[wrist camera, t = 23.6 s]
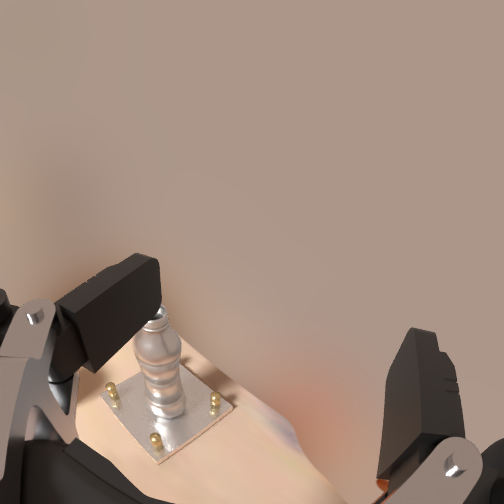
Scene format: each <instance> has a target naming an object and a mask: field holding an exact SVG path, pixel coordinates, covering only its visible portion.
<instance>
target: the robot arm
mask: <svg viewBox="0 0 504 504" xmlns="http://www.w3.org/2000/svg"><path fill="white" fill-rule="evenodd" d="M161 301H162V295H161V282H160V267H159V262H158V260H157V259H155V258H152V257H149V256H146V255H143V254H139V253H135V254H133V255H131V256H130V257H128V258H127V259H125V260H123V261H122V262H120V263H119V264H116V265H113V266H110V267H107V268H106V269H104V270H102V271H101V272H99V273H98V274H97V275H96V276H94V277H92V278H90V279H89V280H87V283H86V282H84V283H83V284H81V285H80V286H78V287H77V288H75V289H74V290H73V291H71V292H70V293H68V294H67V295H65V296H64V297H62V298H61V299H59V300H58V301H56V302H55V303H52V302H51V301H49V300H46V299H36V300H32V301H29V302H27V303H25V304H23V305H22V306H21V307H18V306H14V305H10V303H9V301H8V298H7V295H6V292H5V291H4V290H3V289H0V504H174V503H170V502H166V501H162V500H158V499H154V498H151V497H148V496H146V495H144V494H143V493H142V492H141V491H140V490H138V489H137V488H136V487H135V486H134V485H133V484H132V483H131V482H130V481H129V480H128V479H127V478H126V477H125V476H124V475H123V474H122V473H121V472H120V471H119V470H118V469H117V468H116V467H115V466H114V465H113V464H112V463H111V462H110V461H109V460H108V459H106V458H105V457H103V456H102V455H100V454H99V453H97V452H96V451H94V450H93V449H91V448H90V447H89V446H87V445H86V444H85V443H83V442H82V441H80V440H79V437H78V433H77V430H76V425H75V418H76V405H77V395H78V386H79V372H78V369H79V368H80V367H82V366H83V367H85V368H86V369H88V370H90V371H91V372H93V373H94V374H95V373H96V372H97V371H98V370H99V369H100V368H101V367H102V366H103V365H104V364H105V363H106V362H107V361H108V360H109V359H110V358H111V357H112V356H113V355H114V354H115V353H116V352H117V351H119V350H120V349H121V348H122V347H123V346H124V345H125V344H126V343H127V342H128V341H129V340H130V339H131V338H132V337H133V336H134V335H135V334H136V333H137V332H138V331H139V330H140V329H141V328H143V327H144V326H145V325H146V324H147V323H148V322H149V321H150V320H151V319H152V318H153V317H154V316H155V315H156V314H157V312H158V311H159V309H160V306H161ZM456 382H457V377H456V372H455V367H454V365H453V363H452V362H451V360H450V358H449V357H448V355H447V354H446V353H445V352H440V351H439V347H438V342H437V337H436V334H435V333H434V332H430V331H426V330H421V329H417V328H410V330H409V331H408V332H407V334H406V337H405V339H404V341H403V343H402V345H401V347H400V349H399V351H398V353H397V355H396V357H395V359H394V361H393V363H392V365H391V367H390V369H389V373H388V376H387V380H386V388H385V389H386V390H385V406H384V419H383V430H382V440H381V449H380V457H379V465H378V471H377V477H376V478H378V479H386V480H389V486H388V490H387V491H386V492H384V493H383V494H382V495H381V496H380V497H379V498H378V499H377V500H375V501H374V502H373V503H372V504H504V438H503V439H501V440H498V441H496V442H495V443H493V444H492V445H491V446H489V447H488V448H487V449H486V450H485V451H484V452H483V453H482V454H480V452H479V450H478V449H477V448H476V446H475V445H474V444H473V443H472V442H470V441H469V440H467V439H465V430H464V421H463V413H462V407H461V399H460V395H458V393H459V387H458V383H456Z"/></svg>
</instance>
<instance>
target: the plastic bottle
mask: <svg viewBox="0 0 504 504" xmlns="http://www.w3.org/2000/svg"><path fill="white" fill-rule="evenodd" d="M132 347H133V351H134V354H135V356H136V359H137V361H138V363H139V366H140V368H141V372H142V375H143V378H144V387H145V391H144V399H145V403H146V405H147V407H148V409H149V410H150V411H151V412H152V413H153V414H154V415H155V416H157V417H160V418H165V419H170V418H174V417H177V416H179V415H180V414H181V413H182V412H183V411H184V409H185V405H186V395H185V392H184V389H183V387H182V384H181V379H180V357H181V340H180V338H179V336H178V334H177V333H176V331H175V330H174V329H173V328H172V327H171V326H169V318H168V314H167V309H166V308H165V307H164V306H163V305H162V304H161V306H160V309H159V311H158V312H157V314H156V315H155V316H154V317H153V318H152V319H151V320H150V321H149V322H148V323H147V324H146V325H145V326H144V327H143V328H141V329H140V330H139V331H138V332H137V333H136V334H135V335H134V337H133V343H132Z"/></svg>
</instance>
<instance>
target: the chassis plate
mask: <svg viewBox="0 0 504 504" xmlns="http://www.w3.org/2000/svg"><path fill="white" fill-rule="evenodd" d="M180 379H181V384H182V387H183V389H184V392H185V395H186V405H185V409H184V411H183V412H182V413H181V414H180V415H179V416H177V417H174V418H170V419H165V418H160V417H157V416H155V415H154V414H153V413H152V412H151V411H150V410H149V409H148V407H147V405H146V403H145V399H144V391H145V387H144V378H143V375H142V372H140V373H138V374H136V375H134V376H133V377H131V378H129V379H127V380H125V381H124V382H122V383H120V384H118V385H116V386H115V384H114V383H112V382H110V383H107V385H106V388H107V391H105V392H103V393H101V394H99V395H100V397H101V399H102V400H103V402H104V403H105V404H106V406H107V407H108V408H109V410H110V411H111V412H112V413H113V415H114V416H115V417H116V418H117V420H118V421H119V422H120V423H121V425H122V426H123V427H124V428H125V429H126V431H127V432H128V433H129V434H130V435H131V436H132V438H133V439H134V440H135V441H136V442H137V443H138V444H139V445H140V447H141V448H142V449H143V450H144V451H145V452H146V453H147V454H148V455H149V456H150V457H151V459H152V460H153V461H154V462H155V463H156V464H157V465H159V464H160V463H162V462H163V461H165V460H166V459H167V458H169V457H170V456H172V455H173V454H175V453H176V452H178V451H179V450H180V449H182V448H183V447H185V446H186V445H187V444H189V443H190V442H191V441H193V440H194V439H196V438H197V437H198V436H200V435H201V434H202V433H204V432H205V431H206V430H208V429H209V428H210V427H211V426H213V425H214V424H215V423H217V422H218V421H219V420H220V419H222V418H223V417H224V416H226V415H227V414H228V413H229V412H231V411H232V410H233V406H232V405H231V404H230V403H228V402H227V401H226V400H224V399H223V398H222V397H221V394H220V393H219V392H217V391H213V390H212V389H210V388H209V387H208V386H207V385H205V384H204V383H203V382H202V381H200V380H199V379H198V378H197V377H196V376H194V375H193V374H192V373H191V372H190V371H188V370H187V369H186V368H185V367H184V366H182V365H181V364H180Z"/></svg>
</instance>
